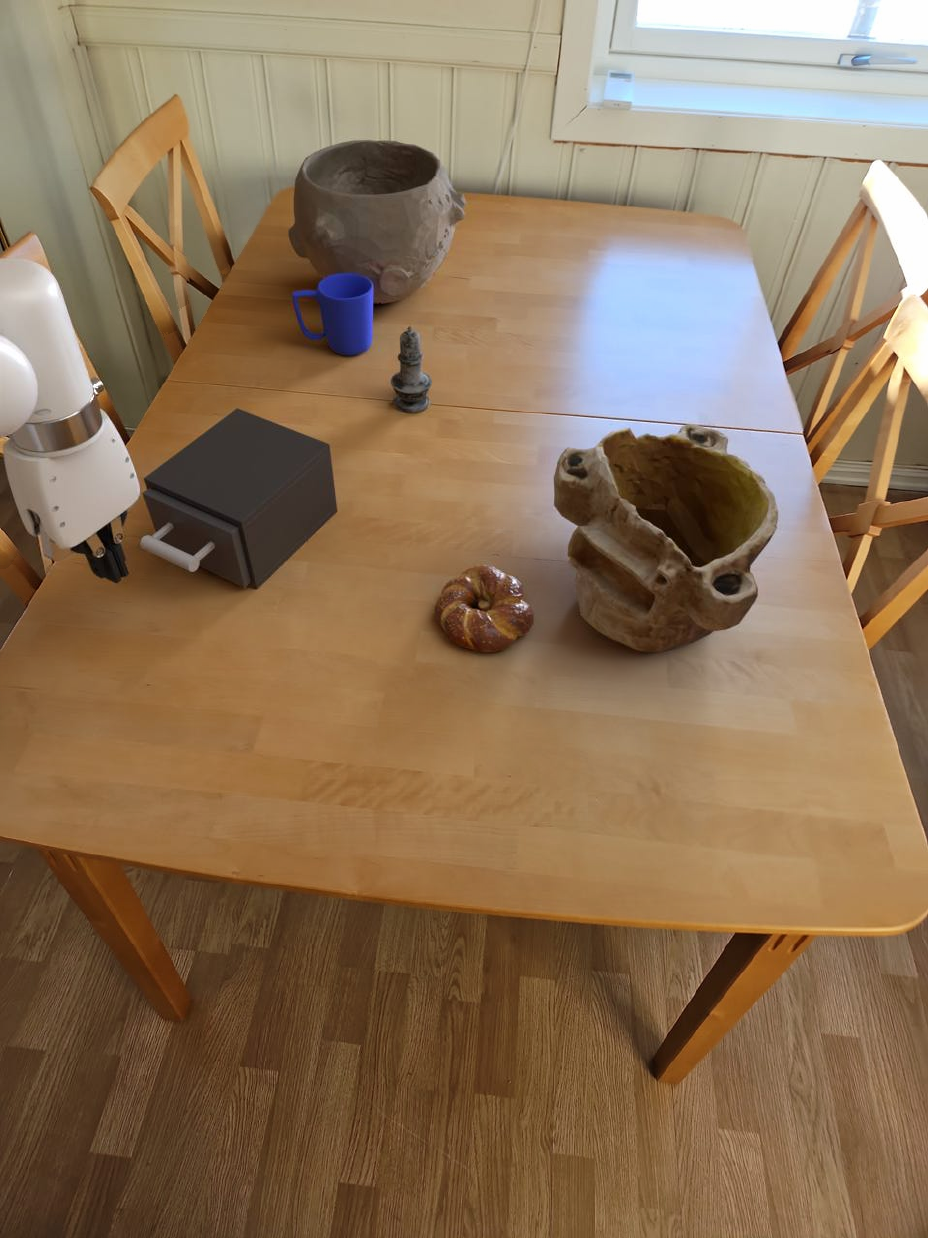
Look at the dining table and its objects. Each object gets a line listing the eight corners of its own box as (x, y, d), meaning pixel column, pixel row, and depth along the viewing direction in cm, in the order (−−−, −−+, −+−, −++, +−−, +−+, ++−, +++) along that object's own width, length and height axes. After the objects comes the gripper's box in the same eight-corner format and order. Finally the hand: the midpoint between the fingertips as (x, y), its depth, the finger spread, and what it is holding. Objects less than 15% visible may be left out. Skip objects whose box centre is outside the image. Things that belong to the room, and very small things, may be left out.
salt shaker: (437, 395, 121) (437, 319, 112) (423, 417, 117) (422, 340, 108) (400, 387, 122) (397, 311, 113) (385, 409, 118) (381, 332, 109)
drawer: (219, 612, 90) (203, 557, 84) (134, 570, 94) (112, 515, 88) (321, 514, 101) (314, 459, 95) (241, 480, 105) (229, 425, 99)
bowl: (462, 332, 133) (466, 203, 118) (285, 326, 132) (266, 196, 117) (464, 255, 151) (467, 134, 136) (308, 250, 150) (294, 128, 135)
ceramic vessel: (865, 568, 87) (836, 472, 66) (698, 726, 91) (622, 683, 71) (714, 452, 99) (649, 340, 78) (573, 596, 103) (477, 527, 83)
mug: (299, 334, 131) (291, 273, 123) (375, 332, 132) (372, 271, 124) (298, 362, 125) (290, 300, 118) (377, 359, 127) (374, 298, 119)
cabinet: (257, 589, 94) (241, 522, 86) (166, 546, 98) (143, 478, 91) (337, 511, 103) (329, 444, 95) (251, 474, 107) (237, 407, 100)
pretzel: (431, 579, 96) (431, 556, 93) (524, 576, 97) (527, 553, 94) (437, 659, 88) (437, 637, 85) (537, 655, 89) (541, 633, 86)
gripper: (88, 365, 75) (139, 520, 88) (-56, 446, 65) (25, 605, 79) (150, 389, 72) (192, 545, 86) (10, 478, 63) (81, 636, 77)
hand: (112, 573), depth 82 cm, fingers closed
